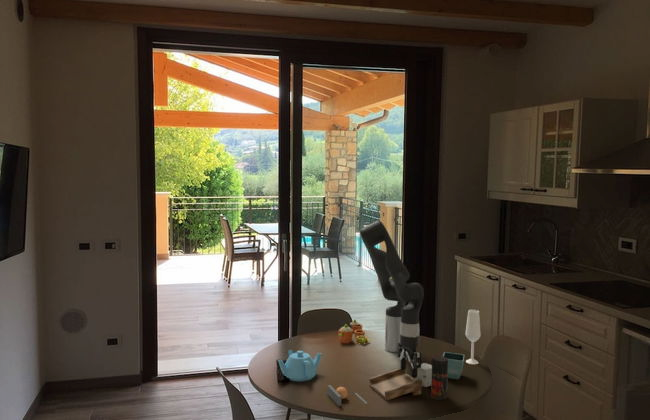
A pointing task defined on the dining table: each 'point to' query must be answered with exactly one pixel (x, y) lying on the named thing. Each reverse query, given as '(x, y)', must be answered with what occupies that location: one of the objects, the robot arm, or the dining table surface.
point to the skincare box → (425, 374)
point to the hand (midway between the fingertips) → (408, 373)
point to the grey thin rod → (361, 398)
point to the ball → (342, 392)
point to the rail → (334, 395)
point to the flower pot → (454, 364)
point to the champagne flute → (473, 332)
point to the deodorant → (439, 377)
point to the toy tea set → (347, 333)
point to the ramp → (395, 384)
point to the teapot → (300, 366)
